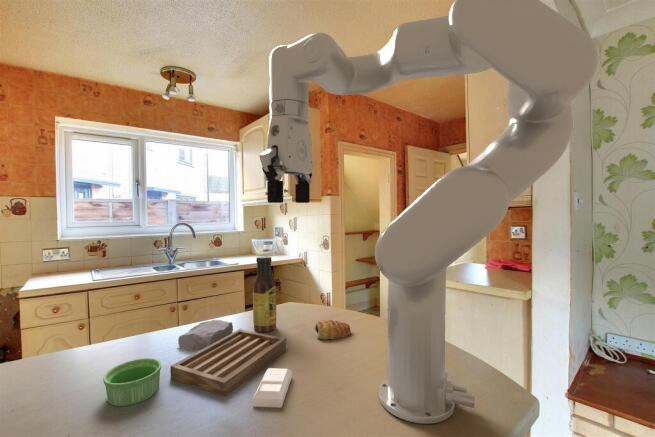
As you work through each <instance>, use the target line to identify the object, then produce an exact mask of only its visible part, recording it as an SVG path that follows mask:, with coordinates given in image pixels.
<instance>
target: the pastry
mask: <svg viewBox="0 0 655 437" xmlns="http://www.w3.org/2000/svg"><path fill="white" fill-rule="evenodd" d="M314 331H315V335H316V337H317V339H320V340H326V341H328V340H329V339H331V340H336V339H340V338H344V337H348V335H351V326H350V324H348V323H346V322H341V321H337V320H332V319H327V320H321V321H319V320H318V321H316V323H315V325H314Z"/></svg>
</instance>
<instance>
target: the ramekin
mask: <svg viewBox="0 0 655 437" xmlns="http://www.w3.org/2000/svg"><path fill="white" fill-rule="evenodd" d="M161 370H162V363H161V361H160V360H159V359H156V358H150V357H144V358H143V357H142V358H138V359H132V360H128V361H125V362H122V363H120V364H118V365H116V366H114V367H112V368H110V369H109V370H107V372H106V373H105V374H104V375H103V377H102V378H103V379H102V380H103V383H104V386H105V392H106V398H107V402H108V403H109V404H111V405H112V406H113V407H114V406H115V407H126V406H132V405H135V404H139V403H141V402H143V401H145V400H147V399H149V398H151V397H152V396H154V394H155V393H156V392H157V391H158V389H159V388H160V379H161V378H160V374H161Z"/></svg>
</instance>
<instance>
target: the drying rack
mask: <svg viewBox="0 0 655 437" xmlns="http://www.w3.org/2000/svg"><path fill="white" fill-rule="evenodd" d="M285 350H287V338H284V337H279V336H274V335H271V334H270V335H269V334H263V333H262V332H257V331H255V332H254V331H249V330H244V329H241V328H239V329H236V330H235V331H232V333H231V334H230V335H228V336H226V337H224V338H222V339H220V340H218V341H216V342H215V343H213V344H211V345H209V346H207V347H205V348H203V349H201V350H200V351H199V350H197V351H196V352H195V353H194V352H193V353H192V354H190V355H188V356H187V357H185V358H183V359H181V360H179V361H177V362H175V363H174V364H172V365H170V369H169V370H170V379H171V380H174V381H176V382H180V383H183V384H186V385H189V386H192V387H194V388H199V389H200V390H201V389H202V390H204V391H208V392H211V393H214V394H216V395H219V396H221V397H222V396H223V397H226V396H228V394H230V393H231V392H232V391H234V390H235V389H237V388H238V387H239V386H240V385H242V384H243V383H245V382H246V380H248V379H250V378H251V377H252V376H253V375H254V374H256V373H257V372H258V371H260V370H261V369H262V368H264V367H265V366H266V365H267V364H269V363H271V361H273V360H274V359H276V358H277V357H278V356H279V355H280V354H282V353H284V352H285Z"/></svg>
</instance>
